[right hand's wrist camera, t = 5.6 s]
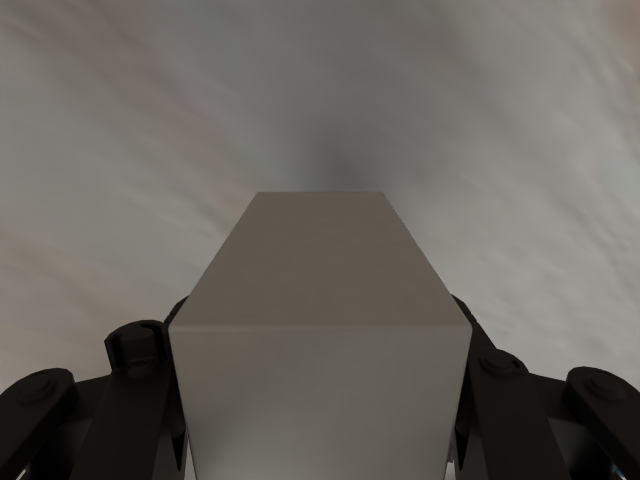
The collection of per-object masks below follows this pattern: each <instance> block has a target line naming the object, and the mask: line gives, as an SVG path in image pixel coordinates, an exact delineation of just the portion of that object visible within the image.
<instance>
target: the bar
mask: <svg viewBox="0 0 640 480" xmlns="http://www.w3.org/2000/svg"><path fill="white" fill-rule="evenodd" d="M168 332H169V337H170V343H171V348H172V353H173V359H174V364H175V369H176V375H177V380H178V385H179V391H180V396H181V401H182V407H183V412H184V417H185V423H186V428H187V433H188V439H189V444H190V449H191V455H192V460H193V465H194V471H195V476H196V480H444V479H445V473H446V468H447V463H448V457H449V452H450V447H451V441H452V436H453V431H454V426H455V420H456V415H457V410H458V404H459V399H460V394H461V388H462V383H463V378H464V372H465V367H466V362H467V356H468V351H469V346H470V341H471V335H472V326H471V324H470V323H469V321H468V320H467V318H466V317H465V315H464V314H463V312H462V311H461V309H460V308H459V306H458V305H457V303H456V302H455V300H454V299H453V297H452V296H451V294H450V293H449V291H448V290H447V288H446V287H445V285H444V284H443V282H442V281H441V279H440V278H439V276H438V275H437V273H436V272H435V270H434V269H433V267H432V266H431V264H430V263H429V261H428V260H427V258H426V257H425V255H424V254H423V252H422V251H421V249H420V248H419V246H418V245H417V243H416V242H415V240H414V239H413V237H412V236H411V234H410V233H409V231H408V230H407V228H406V227H405V225H404V224H403V222H402V221H401V219H400V218H399V216H398V215H397V213H396V212H395V210H394V209H393V207H392V206H391V204H390V203H389V201H388V200H387V198H386V197H385V195H384V194H383V193H382V192H258V193H257V194H256V195H255V197H254V198H253V200H252V201H251V203H250V204H249V206H248V207H247V209H246V210H245V212H244V213H243V215H242V216H241V218H240V219H239V221H238V222H237V224H236V226H235V227H234V229H233V230H232V232H231V233H230V235H229V236H228V238H227V239H226V241H225V242H224V244H223V245H222V247H221V248H220V250H219V251H218V253H217V254H216V256H215V257H214V259H213V260H212V262H211V263H210V265H209V266H208V268H207V269H206V271H205V272H204V274H203V275H202V277H201V278H200V280H199V281H198V283H197V284H196V286H195V287H194V289H193V290H192V292H191V293H190V295H189V296H188V298H187V299H186V301H185V302H184V304H183V305H182V307H181V308H180V310H179V311H178V313H177V314H176V316H175V317H174V319H173V320H172V322H171V323H170V325H169V328H168Z"/></svg>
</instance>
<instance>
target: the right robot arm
mask: <svg viewBox="0 0 640 480" xmlns="http://www.w3.org/2000/svg"><path fill="white" fill-rule="evenodd" d="M188 296H189V295H188ZM188 296H187V297H185V298H184V299H182V300H181V301H180V302H178V303H177V304H176V305H175V306H174V308H173V309H172V311H171V312H170V313H169V316H167V318H166V319H165V321H164V323H162V322H160V321H156V320H141V321H136V322H132V323H129V324H126V325H124V326H122V327H119V328H118V329H116V330H115V331H113V332H112V333H110V334H109V335H108V337H107V338H106V339H105V340H104V343H105V347H106V350H107V354H108V358H109V361H110V365H111V369H112V372H111V374H110V375H106V376H103V377H99V378H94V379H90V380H85V381H80V382H76V383H75V380H74V377H73V374H72V373H71V372H70V371H68V370H67V369H62V368H52V369H45V370H42V371H39V372H35V373H32V374H30V375H28V376H26V377H24V378H22V379H20V380H18V381H17V382H15V383H14V384H13V385H11V386H10V387H9V388H7V389H6V390H5V391H4V392H3V393H2V394H1V395H0V480H16V479H17V478H18V476H19V475H20V474H21V473H22V471H23V470H24V469H25V471H26V472H25V473H24V474H23V476H22V477H21V478H20V479H19V480H184V477H185V466H186V456H187V445H188V438H187V432H186V423H185V417H184V412H183V407H182V401H181V396H180V391H179V385H178V380H177V375H176V369H175V364H174V359H173V353H172V348H171V343H170V337H169V332H168V328H169V325H170V323H171V322H172V320H173V319H174V317H175V316H176V314H177V313H178V311H179V310H180V308H181V307H182V305H183V304H184V302H185V301H186V299H187V298H188ZM451 296H452V297H453V299H454V300H455V302H456V303H457V305H458V306H459V308H460V309H461V311H462V312H463V314H464V315H465V317H466V318H467V320H468V321H469V323H470V324H471V326H472V335H471V341H470V346H469V351H468V356H467V362H466V367H465V372H464V378H463V383H462V388H461V394H460V399H459V404H458V410H457V415H456V420H455V426H454V432H453V437H452V442H451V448H450V453H449V459H448V462H451V463H453V459H454V465H455V476H456V480H623V479H622V478H621V477H620V476H619V475H618V473H617V472H616V471H615V469H616V467H617V468H618V470H619V471H620V472H621V473H622V475H623V476H624V477H625V478H626V480H640V392H639V391H638V390H637V389H635V388H634V387H633V386H632V385H630V384H629V383H628V382H626V381H625V380H624V379H622V378H620V377H618V376H616V375H614V374H612V373H610V372H607V371H605V370H601V369H598V368H592V367H585V366H583V367H576V368H573V369H572V370H570V371H569V372H568V375H567V378H566V381H562V380H558V379H553V378H548V377H544V376H539V375H536V374H532V373H529V371H528V369H527V368H526V366H525V365H524V363H523V362H522V361H520V360H519V359H518V358H516V357H515V356H514V355H512V354H510V353H508V352H505V351H503V350H500V349H496V347H495V346H494V344H493V343H492V341H491V340H490V339H489V337H488V336H487V334H486V333H485V331H484V330H483V329H482V327H481V326H480V324H479V323H477V320H476V319H475V317H474V316H473V314H471V312H470V310H469V309H468V307H467V306H466V305H465V303H464V302H462V301H461V300H460V299H458V298H457V297H455V296H454V295H452V294H451Z"/></svg>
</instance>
